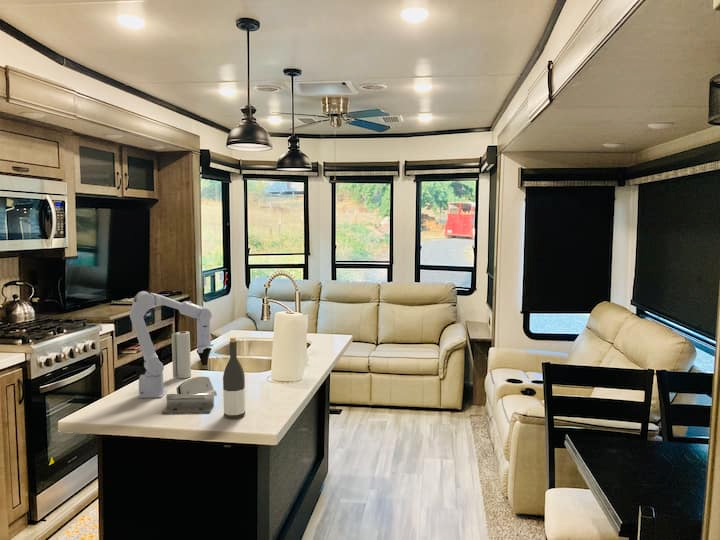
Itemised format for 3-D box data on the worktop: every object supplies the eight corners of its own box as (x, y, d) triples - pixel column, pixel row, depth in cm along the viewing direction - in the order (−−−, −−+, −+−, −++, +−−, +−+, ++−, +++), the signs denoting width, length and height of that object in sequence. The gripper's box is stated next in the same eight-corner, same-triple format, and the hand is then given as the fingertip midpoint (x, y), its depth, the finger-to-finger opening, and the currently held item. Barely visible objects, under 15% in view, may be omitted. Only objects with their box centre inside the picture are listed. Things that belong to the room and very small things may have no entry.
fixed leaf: (162, 414, 210) (161, 400, 209) (168, 406, 218) (168, 393, 217) (209, 413, 211) (209, 399, 210) (214, 405, 219) (213, 392, 218)
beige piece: (187, 406, 218) (180, 382, 219) (179, 408, 220) (172, 384, 221) (217, 394, 232) (211, 372, 233) (210, 396, 235) (203, 374, 236)
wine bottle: (225, 420, 203) (223, 341, 200) (222, 413, 210) (220, 336, 207) (247, 417, 206) (245, 339, 203) (243, 410, 214) (241, 334, 211)
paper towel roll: (193, 375, 261) (191, 331, 259) (187, 379, 255) (186, 333, 253) (178, 374, 262) (177, 330, 260) (173, 378, 256) (171, 333, 254)
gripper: (209, 338, 234) (210, 369, 235) (216, 331, 248) (217, 360, 250) (192, 338, 234) (193, 369, 235) (200, 331, 248) (201, 360, 249)
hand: (204, 365), depth 242 cm, fingers closed
